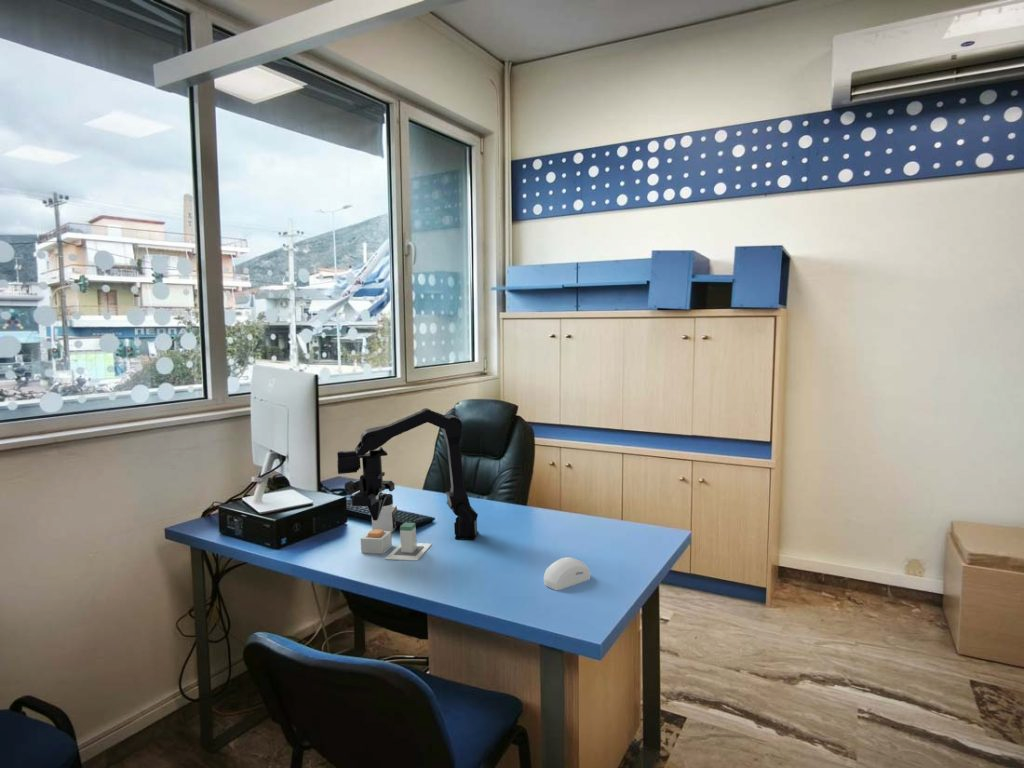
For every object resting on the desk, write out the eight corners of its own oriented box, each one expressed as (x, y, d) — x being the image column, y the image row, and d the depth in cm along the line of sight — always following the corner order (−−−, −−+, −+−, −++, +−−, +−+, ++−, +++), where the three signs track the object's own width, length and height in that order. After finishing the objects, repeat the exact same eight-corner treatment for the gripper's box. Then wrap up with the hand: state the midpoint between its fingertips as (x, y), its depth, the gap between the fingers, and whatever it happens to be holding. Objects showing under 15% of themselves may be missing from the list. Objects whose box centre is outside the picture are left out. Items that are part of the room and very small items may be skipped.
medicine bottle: (393, 532, 204) (391, 497, 203) (372, 532, 204) (370, 497, 203) (397, 524, 211) (396, 491, 210) (377, 525, 211) (375, 491, 210)
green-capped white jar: (416, 548, 187) (415, 522, 186) (412, 552, 184) (411, 526, 183) (405, 547, 188) (404, 522, 187) (401, 552, 184) (399, 526, 184)
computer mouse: (593, 579, 163) (593, 556, 162) (554, 592, 155) (554, 569, 155) (578, 571, 168) (577, 549, 167) (539, 584, 161) (539, 561, 160)
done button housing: (391, 545, 192) (391, 531, 191) (382, 553, 185) (382, 539, 185) (371, 544, 193) (370, 530, 193) (361, 552, 186) (360, 538, 186)
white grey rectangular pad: (431, 544, 191) (431, 543, 191) (417, 561, 179) (417, 559, 178) (401, 543, 193) (401, 541, 193) (385, 559, 181) (385, 557, 181)
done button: (384, 537, 190) (383, 529, 190) (379, 541, 187) (378, 533, 186) (373, 536, 191) (372, 529, 191) (368, 540, 187) (367, 533, 187)
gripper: (361, 463, 197) (364, 509, 199) (333, 478, 179) (336, 529, 181) (393, 463, 195) (396, 510, 197) (368, 478, 177) (371, 531, 178)
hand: (375, 520), depth 188 cm, fingers closed
